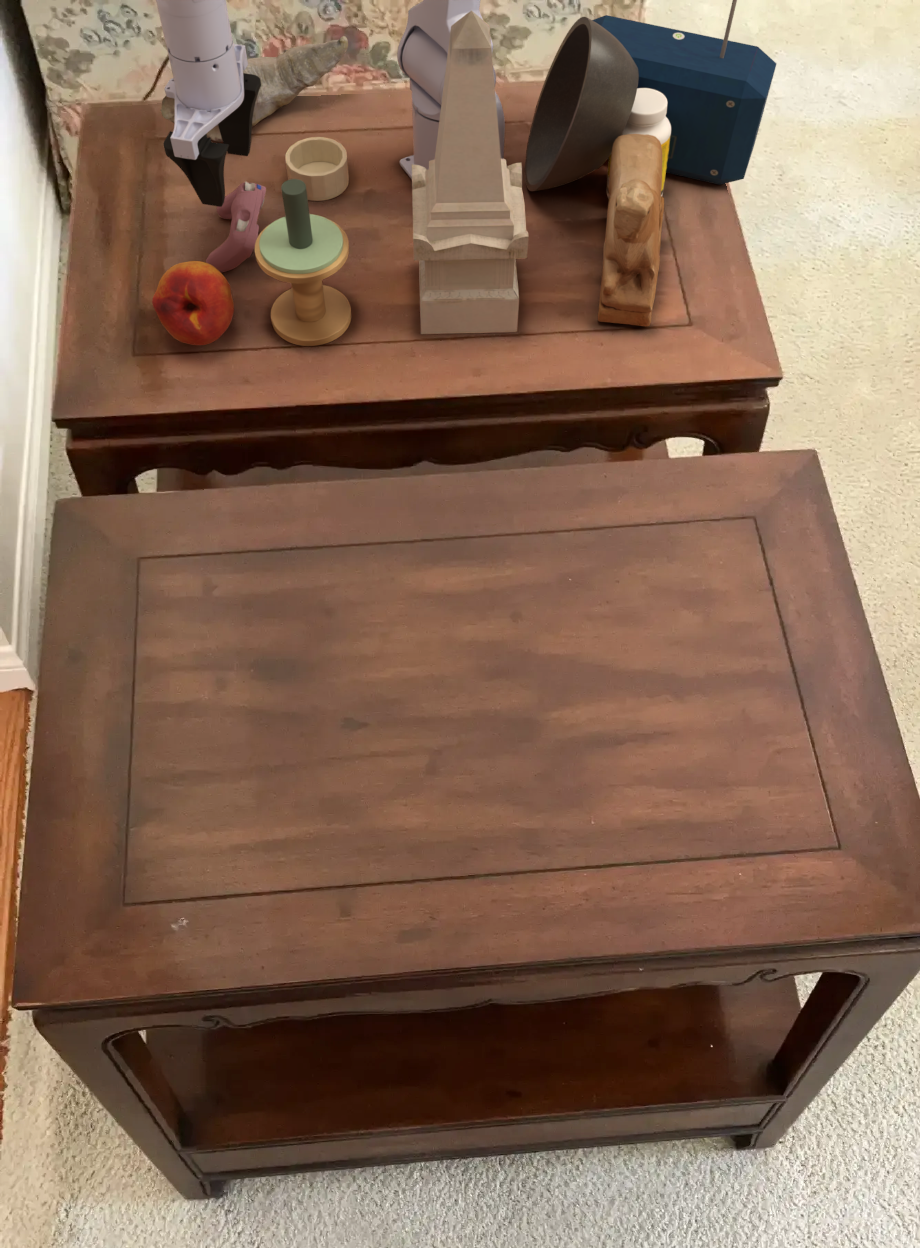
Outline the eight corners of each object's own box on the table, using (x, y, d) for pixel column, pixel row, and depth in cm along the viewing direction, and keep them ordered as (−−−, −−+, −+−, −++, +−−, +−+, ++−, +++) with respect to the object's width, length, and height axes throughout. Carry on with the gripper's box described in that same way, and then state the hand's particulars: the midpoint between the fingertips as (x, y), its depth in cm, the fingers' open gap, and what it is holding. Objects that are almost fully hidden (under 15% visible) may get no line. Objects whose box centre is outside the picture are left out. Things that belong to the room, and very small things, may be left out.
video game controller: (244, 288, 119) (266, 240, 114) (202, 272, 118) (222, 222, 112) (255, 225, 125) (277, 176, 119) (214, 208, 123) (234, 158, 118)
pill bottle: (673, 200, 124) (687, 106, 115) (626, 219, 123) (636, 125, 114) (641, 170, 127) (652, 76, 118) (594, 188, 126) (602, 94, 117)
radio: (753, 147, 130) (803, -33, 113) (739, 194, 125) (788, 15, 108) (575, 107, 133) (597, -73, 116) (555, 152, 128) (574, -29, 111)
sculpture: (590, 325, 115) (607, 200, 102) (603, 213, 123) (620, 85, 110) (654, 331, 114) (679, 206, 101) (661, 219, 123) (685, 91, 110)
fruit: (147, 350, 113) (127, 287, 106) (183, 295, 117) (166, 231, 110) (220, 369, 111) (204, 307, 105) (254, 314, 115) (242, 250, 109)
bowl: (655, 104, 106) (592, 94, 105) (578, 227, 127) (524, 220, 126) (653, -10, 108) (590, -22, 107) (577, 129, 130) (524, 121, 128)
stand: (332, 276, 118) (324, 203, 111) (370, 330, 114) (364, 258, 107) (253, 304, 116) (239, 232, 108) (289, 360, 112) (277, 289, 104)
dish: (333, 155, 129) (330, 129, 126) (359, 189, 126) (357, 163, 123) (279, 173, 127) (275, 147, 124) (304, 208, 124) (300, 182, 121)
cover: (321, 207, 110) (315, 148, 105) (357, 257, 107) (352, 198, 101) (246, 233, 108) (235, 174, 103) (280, 284, 105) (270, 226, 99)
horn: (244, 123, 120) (173, 49, 118) (217, 187, 130) (151, 119, 128) (354, 41, 128) (289, -29, 127) (321, 107, 139) (260, 43, 137)
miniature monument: (515, 262, 120) (532, -28, 94) (521, 335, 114) (541, 47, 88) (415, 264, 119) (404, -26, 94) (416, 337, 114) (406, 49, 88)
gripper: (184, -10, 103) (211, 125, 115) (124, 85, 96) (160, 219, 107) (259, 1, 102) (279, 135, 114) (204, 97, 95) (231, 231, 107)
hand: (226, 177), depth 111 cm, fingers open, 7 cm apart
